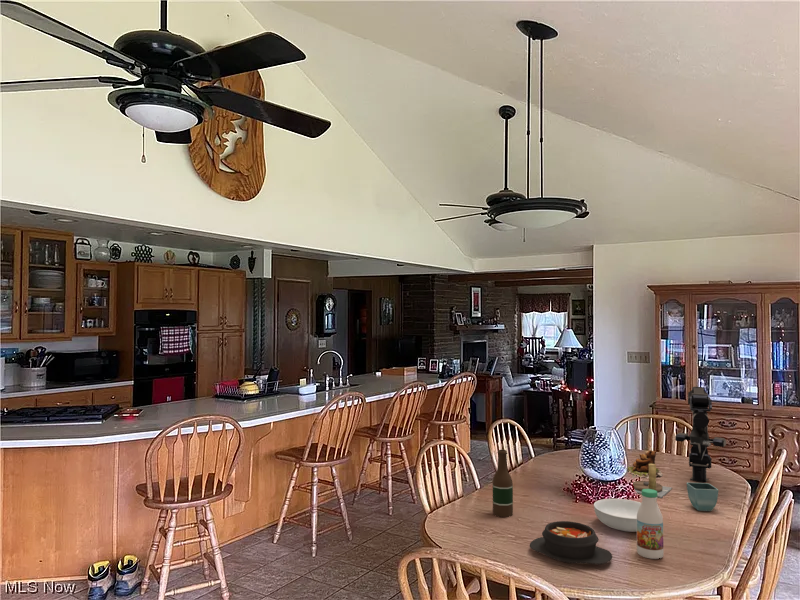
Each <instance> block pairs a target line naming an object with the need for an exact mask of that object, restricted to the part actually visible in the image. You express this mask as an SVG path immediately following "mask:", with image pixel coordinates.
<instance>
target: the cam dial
mask: <svg viewBox="0 0 800 600" xmlns="http://www.w3.org/2000/svg"><path fill="white" fill-rule="evenodd" d="M656 469H657V465H656V463H655V464H649V479H648V480H647V481H646V480H637V481H636V480H634V481H635V482H633V481H632V482H633V486H634V489H637V490H640V491H642V490H643V489H653V490H656V491H657V492H660V491H662V486H663V485H662V484H661V483H657V477H656Z"/></svg>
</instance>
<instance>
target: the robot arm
mask: <svg viewBox="0 0 800 600" xmlns="http://www.w3.org/2000/svg"><path fill="white" fill-rule="evenodd" d="M687 404H688V405H689V410H690V411H691V413H692V426H691V427H692V428H691V432H690V434H689V433H687V432H685V433H684V432H678V433H677V434H676V435H675V436H674V438H675V439H674V440H675V442H681V443H683V442H685V441H690V443H689V445H691V448H690V452H689V453H688V466H689V468H690V467H691V470H692V471H691V472H692V473H691V475H692V476H691V478H690V479H689V480H690V481H692V482H693V481H694V482H697V483H707V482H708V481H710V480H709V479H710V478H707V469H711V468H712V457H711V454H709V450H708V448H710V446H712V444H713V446H714V447H719V448H724V447H725V446H727V440H726V438H724V437H717V436H716V437H714V438H710V434H709V431H708V429H709V426H708V425H709V421H710V419H709V416H708V412H711V410H713V405H712V399H711V397H710V396H709V393H708V392H707V391H705V387H703V386H692V387H691V390H690V391H688V393H687Z"/></svg>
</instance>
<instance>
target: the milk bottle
mask: <svg viewBox="0 0 800 600" xmlns="http://www.w3.org/2000/svg"><path fill="white" fill-rule="evenodd" d="M657 495H658V494H657V491H656V490H653V489H643V490H642V494H641V498H642V499H641V502H640V503H641V505H640V507H639V509H638V513H637V531H636V553H637V554H638V555H639V556H641V557H643V558H645V559H650V560H658V559H659V558H660V559H662V558H663V557H664V517H663V514H662V512H661V510H660V507H659V504H658V502H657V500H658V497H657Z"/></svg>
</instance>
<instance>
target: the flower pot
mask: <svg viewBox="0 0 800 600" xmlns="http://www.w3.org/2000/svg"><path fill="white" fill-rule="evenodd" d="M686 491H687V497H688V499H689V502H690V503H691V506H692V507H693V508H694V509H696V510H697V511H699V512H700V511H703V512H712V511H714V508H716V505H717V503H718V497H719V489H718V488H717V487H715V486H714V485H712V484H711V483H707V482H706V483H704V482H686Z"/></svg>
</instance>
